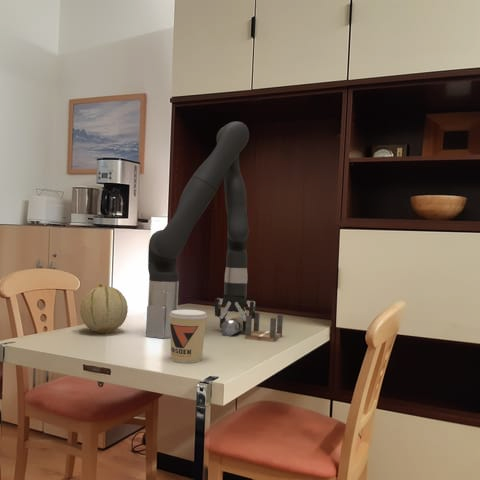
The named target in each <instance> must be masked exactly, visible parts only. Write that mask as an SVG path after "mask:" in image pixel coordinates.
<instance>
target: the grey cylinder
mask: <svg viewBox="0 0 480 480" xmlns="http://www.w3.org/2000/svg"><path fill="white" fill-rule="evenodd" d="M243 321H244V320H243V318H242V316H241V315H238V316H235V317H232V318H231V317H230V319H226V321H225V322H223V323H222V325H221V328H220V330H221V333H222V335H224V336H225V337H231V336H234V335H236V334H238V333H239V332H242V326H243Z"/></svg>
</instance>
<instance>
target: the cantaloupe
mask: <svg viewBox="0 0 480 480" xmlns="http://www.w3.org/2000/svg"><path fill="white" fill-rule="evenodd" d="M128 307H129V306H128V302H127V300H126V298H125V296H124V295H123V293H122V292H121V291H120V290H119V289H118V288H115V287H112V286H105V285H104V284H102V283H100V284H99V285H98V286H97V287H93V288H92V289H90V290H89V291H88V292H87V293H86V294H85V295H84V297H83V298H82V301H81V303H80V311H79V313H80V318H81V320H82V321H81V322H82V323H83V324H84V325H85V326H86V327H87V329H89V330H91V331H93V332H97V333H99V334H106V333H109V332H113V331H115V330H117V329H119V328H120V327H121V326H122V325H123V324H124V323H125V321H126V319H127V317H128V315H127V314H128V310H129V309H128Z"/></svg>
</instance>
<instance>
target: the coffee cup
mask: <svg viewBox="0 0 480 480" xmlns="http://www.w3.org/2000/svg"><path fill="white" fill-rule="evenodd" d="M207 318H208V315H207V313H206V311H203V310H198V309H177V310H174V311H171V314H170V334H171V337H170V359H171V361H173V362H175V363H183V364H190V363H193V364H194V363H198V362H199V363H200V362H201V361H202V356H203V350H204V340H205V333H206V332H205V331H206V321H207Z"/></svg>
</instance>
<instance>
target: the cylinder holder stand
mask: <svg viewBox="0 0 480 480" xmlns="http://www.w3.org/2000/svg"><path fill="white" fill-rule="evenodd" d="M247 315H248V316H246V331H245V332H244V334H245V335H244V340H250V341H251V340H252V341H261V342H268V343H269V342H271V343H275V342H276V341H278V340H279V339H280V338H282V337H283V323H284V322H283V319H284V318H283V317H284V315H283V314H277V317H270V320H269V321H270V325H269V331H268V330H260V312H256V311H255V315H254V319H252V316H249V314H247ZM252 320H253V322H252ZM252 323H253V331H252Z"/></svg>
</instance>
